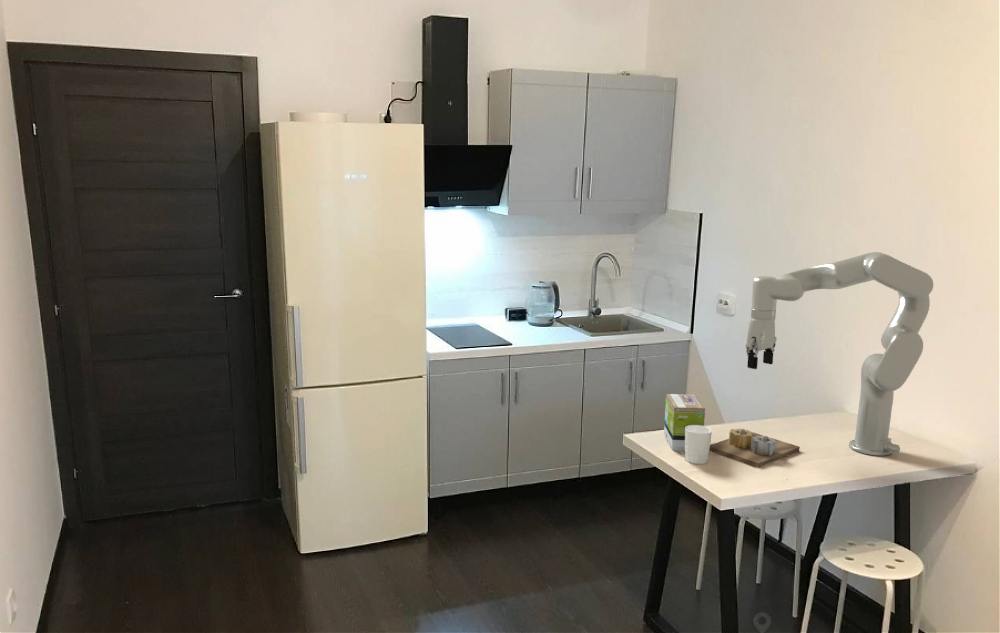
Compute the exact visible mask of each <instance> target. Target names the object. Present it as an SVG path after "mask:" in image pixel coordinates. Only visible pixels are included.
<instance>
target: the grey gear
mask: <svg viewBox="0 0 1000 633" xmlns="http://www.w3.org/2000/svg"><path fill="white" fill-rule="evenodd" d="M766 436H767V441H761V436H758V435H757V436H756V437H752V440H751V450H752V452H753V453H757V454H760V455H762V456H763V455H768V456H772V455H773V454H776V445H777V441H775V439H776V438H774V437H769V436H768V435H766Z"/></svg>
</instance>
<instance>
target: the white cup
mask: <svg viewBox="0 0 1000 633" xmlns="http://www.w3.org/2000/svg"><path fill="white" fill-rule="evenodd" d="M712 432H713V431H712V429H711V428H710V427H708V426H706V425H704V426H700V425H689V426H686V427H685V451H684V458H685V459H684V460H685V461H686V462H688V463H691V464H695V465H703V464H706V463H708V462H709V461H708V459H709V453H710V451H709V449H710V445H711V441H712V440H711V439H712Z"/></svg>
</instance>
